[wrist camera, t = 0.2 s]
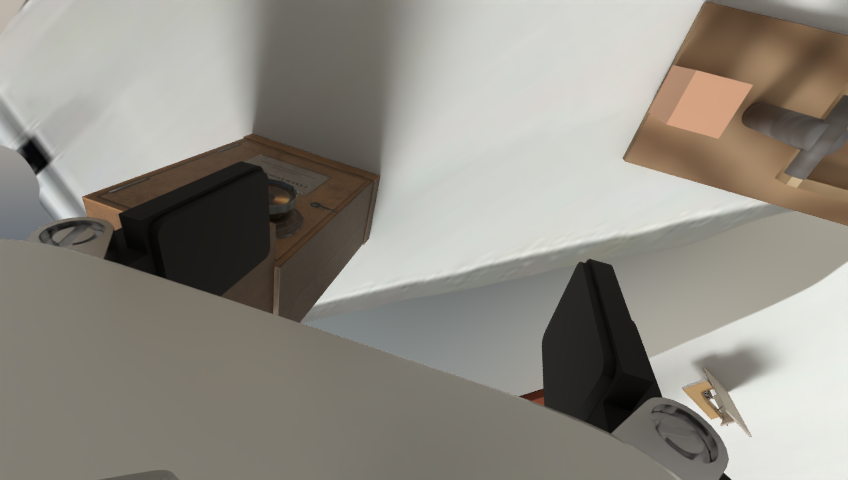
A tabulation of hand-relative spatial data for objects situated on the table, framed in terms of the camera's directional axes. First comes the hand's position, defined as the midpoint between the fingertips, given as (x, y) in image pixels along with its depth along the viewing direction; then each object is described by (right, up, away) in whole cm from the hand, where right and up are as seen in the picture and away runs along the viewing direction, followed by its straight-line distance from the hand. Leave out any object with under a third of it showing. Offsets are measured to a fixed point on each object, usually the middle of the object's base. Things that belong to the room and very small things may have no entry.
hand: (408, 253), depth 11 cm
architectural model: (+41, -19, +42) cm, 62 cm away
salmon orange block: (+26, +15, +26) cm, 39 cm away
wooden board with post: (+36, +12, +26) cm, 46 cm away
